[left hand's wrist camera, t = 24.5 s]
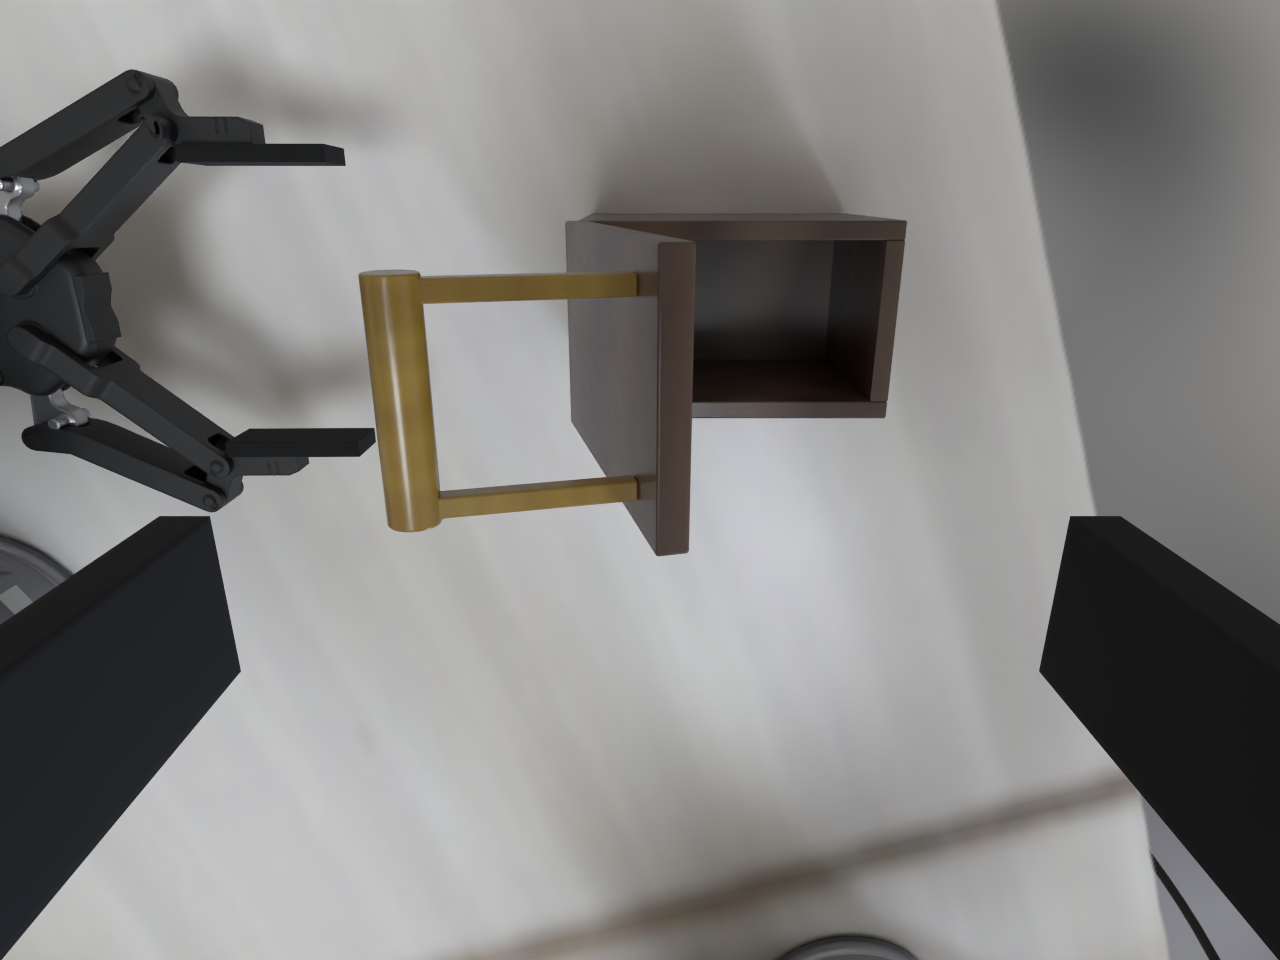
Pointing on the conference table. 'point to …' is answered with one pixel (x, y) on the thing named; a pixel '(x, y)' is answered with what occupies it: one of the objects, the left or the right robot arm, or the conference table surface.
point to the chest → (788, 310)
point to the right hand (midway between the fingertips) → (352, 306)
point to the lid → (599, 381)
